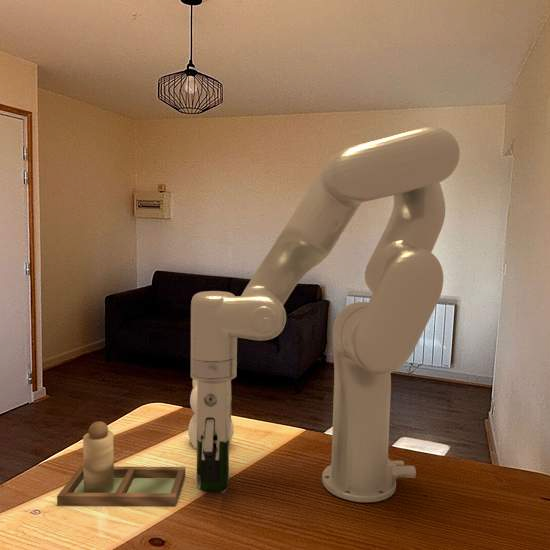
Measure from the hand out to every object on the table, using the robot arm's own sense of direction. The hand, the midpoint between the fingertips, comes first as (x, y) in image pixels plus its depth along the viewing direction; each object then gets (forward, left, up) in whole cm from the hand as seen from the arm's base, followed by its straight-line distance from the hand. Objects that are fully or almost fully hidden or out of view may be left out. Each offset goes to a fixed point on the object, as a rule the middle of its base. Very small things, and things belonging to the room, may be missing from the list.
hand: (212, 471), depth 82 cm
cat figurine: (+2, -17, -3) cm, 17 cm away
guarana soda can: (0, 0, -3) cm, 3 cm away
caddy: (+14, +2, -3) cm, 14 cm away
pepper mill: (+18, +2, -2) cm, 18 cm away
